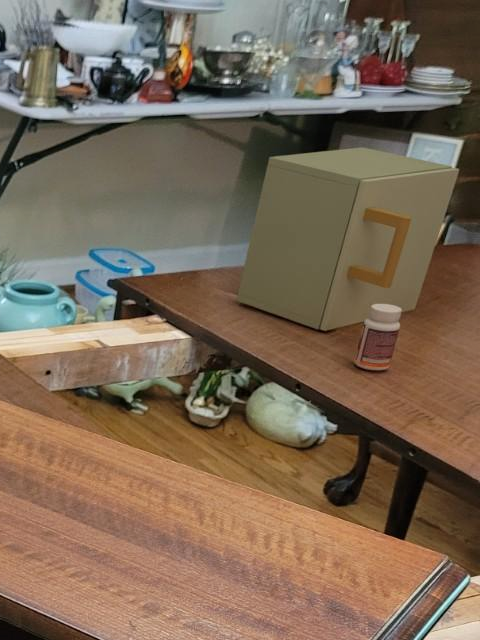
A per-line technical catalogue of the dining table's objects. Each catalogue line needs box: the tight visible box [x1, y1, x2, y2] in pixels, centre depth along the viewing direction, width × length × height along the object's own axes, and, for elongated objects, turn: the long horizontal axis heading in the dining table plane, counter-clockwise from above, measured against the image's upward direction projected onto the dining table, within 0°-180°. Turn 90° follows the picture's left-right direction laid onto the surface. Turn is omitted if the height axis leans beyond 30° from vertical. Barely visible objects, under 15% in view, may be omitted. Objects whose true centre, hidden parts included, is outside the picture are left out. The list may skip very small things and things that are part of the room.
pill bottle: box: [353, 304, 402, 371], centre depth 155 cm, size 5×5×8 cm
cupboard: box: [236, 146, 453, 330], centre depth 176 cm, size 16×24×22 cm, turn 125°
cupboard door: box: [319, 167, 460, 332], centre depth 168 cm, size 8×24×22 cm, turn 125°
